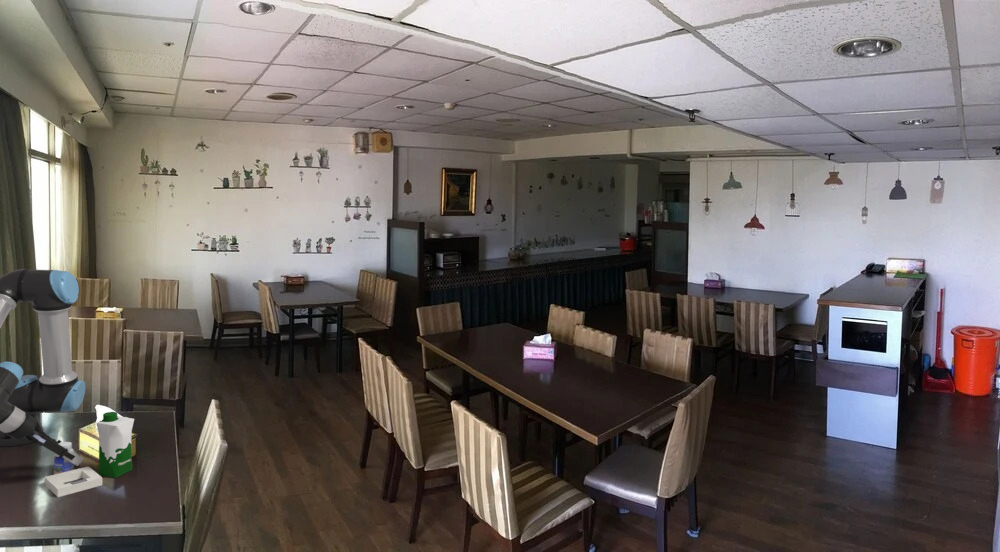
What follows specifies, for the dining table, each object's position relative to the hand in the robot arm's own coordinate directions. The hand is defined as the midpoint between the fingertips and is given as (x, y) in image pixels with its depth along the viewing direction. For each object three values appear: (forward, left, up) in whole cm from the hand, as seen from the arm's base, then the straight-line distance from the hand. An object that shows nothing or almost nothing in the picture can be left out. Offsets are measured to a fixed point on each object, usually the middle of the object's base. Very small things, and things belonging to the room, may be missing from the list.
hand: (77, 459), depth 203 cm
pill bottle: (0, -4, -4) cm, 5 cm away
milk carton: (+11, +8, -4) cm, 14 cm away
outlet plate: (+12, -5, -3) cm, 13 cm away
